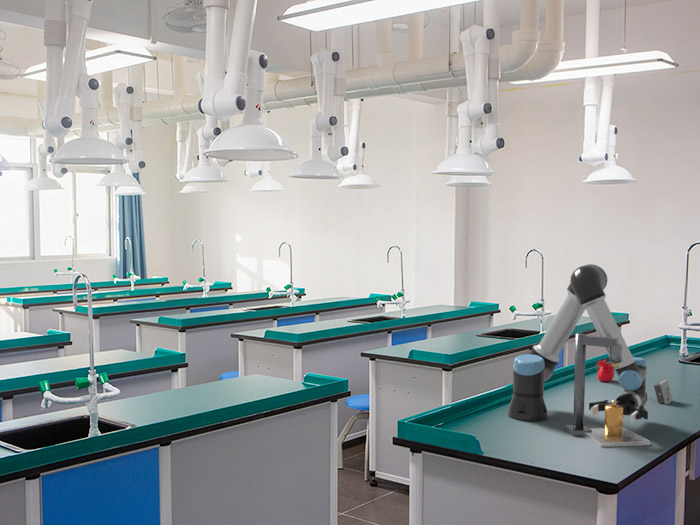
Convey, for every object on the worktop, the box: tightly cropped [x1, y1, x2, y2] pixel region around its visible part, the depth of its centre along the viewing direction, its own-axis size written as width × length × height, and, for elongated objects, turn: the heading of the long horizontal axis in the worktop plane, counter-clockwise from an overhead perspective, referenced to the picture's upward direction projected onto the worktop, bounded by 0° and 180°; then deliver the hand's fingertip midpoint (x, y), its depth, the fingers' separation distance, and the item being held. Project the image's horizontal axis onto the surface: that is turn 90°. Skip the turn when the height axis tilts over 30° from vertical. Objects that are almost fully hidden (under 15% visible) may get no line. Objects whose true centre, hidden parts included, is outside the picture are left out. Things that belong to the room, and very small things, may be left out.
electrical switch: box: [653, 379, 674, 405], centre depth 297 cm, size 9×5×9 cm, turn 141°
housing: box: [603, 399, 624, 437], centre depth 243 cm, size 6×6×12 cm
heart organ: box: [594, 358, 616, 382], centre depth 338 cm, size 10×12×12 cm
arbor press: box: [564, 333, 651, 448], centre depth 244 cm, size 22×20×36 cm
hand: (611, 415), depth 240 cm, fingers open, 13 cm apart
